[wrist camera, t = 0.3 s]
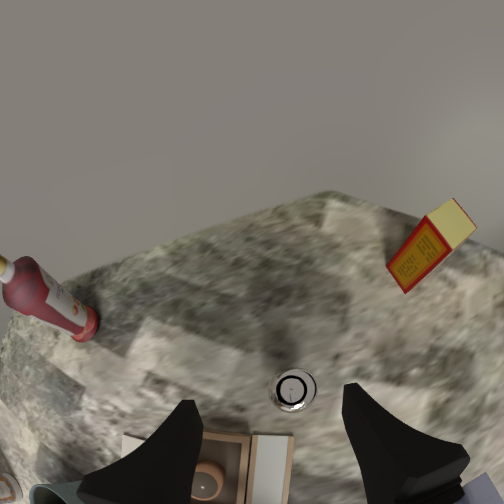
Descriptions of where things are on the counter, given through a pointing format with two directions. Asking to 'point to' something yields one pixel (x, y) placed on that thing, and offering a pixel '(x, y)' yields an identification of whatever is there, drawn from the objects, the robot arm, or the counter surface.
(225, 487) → the brown wooden shallow tray
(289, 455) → the pale grey flat panel
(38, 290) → the liquor
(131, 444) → the tile
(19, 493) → the bath foam
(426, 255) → the baking soda box
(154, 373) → the counter surface
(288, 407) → the wineglass
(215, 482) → the pot
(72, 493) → the green cup
